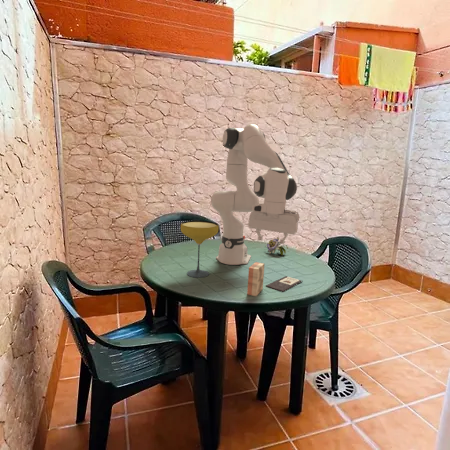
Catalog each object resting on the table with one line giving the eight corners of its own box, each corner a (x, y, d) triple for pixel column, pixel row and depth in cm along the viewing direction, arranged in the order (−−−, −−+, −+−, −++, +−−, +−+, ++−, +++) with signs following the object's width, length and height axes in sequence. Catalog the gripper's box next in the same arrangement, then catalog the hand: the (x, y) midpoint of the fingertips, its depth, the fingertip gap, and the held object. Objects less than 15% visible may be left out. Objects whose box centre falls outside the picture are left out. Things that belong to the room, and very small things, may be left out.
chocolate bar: (265, 285, 156) (285, 276, 170) (265, 287, 156) (285, 277, 170) (283, 291, 150) (302, 280, 164) (282, 293, 151) (302, 282, 164)
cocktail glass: (200, 283, 156) (202, 229, 151) (171, 274, 166) (172, 223, 161) (223, 273, 170) (226, 224, 165) (195, 265, 180) (197, 218, 175)
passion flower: (269, 262, 210) (260, 245, 212) (281, 256, 217) (272, 239, 219) (281, 256, 202) (271, 238, 204) (292, 250, 208) (283, 233, 210)
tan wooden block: (254, 287, 154) (255, 262, 152) (262, 289, 153) (264, 263, 150) (247, 294, 146) (248, 267, 144) (256, 296, 144) (258, 269, 142)
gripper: (301, 210, 138) (297, 244, 140) (253, 205, 146) (250, 236, 148) (297, 212, 132) (294, 247, 134) (248, 206, 140) (245, 239, 142)
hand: (271, 241), depth 141 cm, fingers open, 8 cm apart
